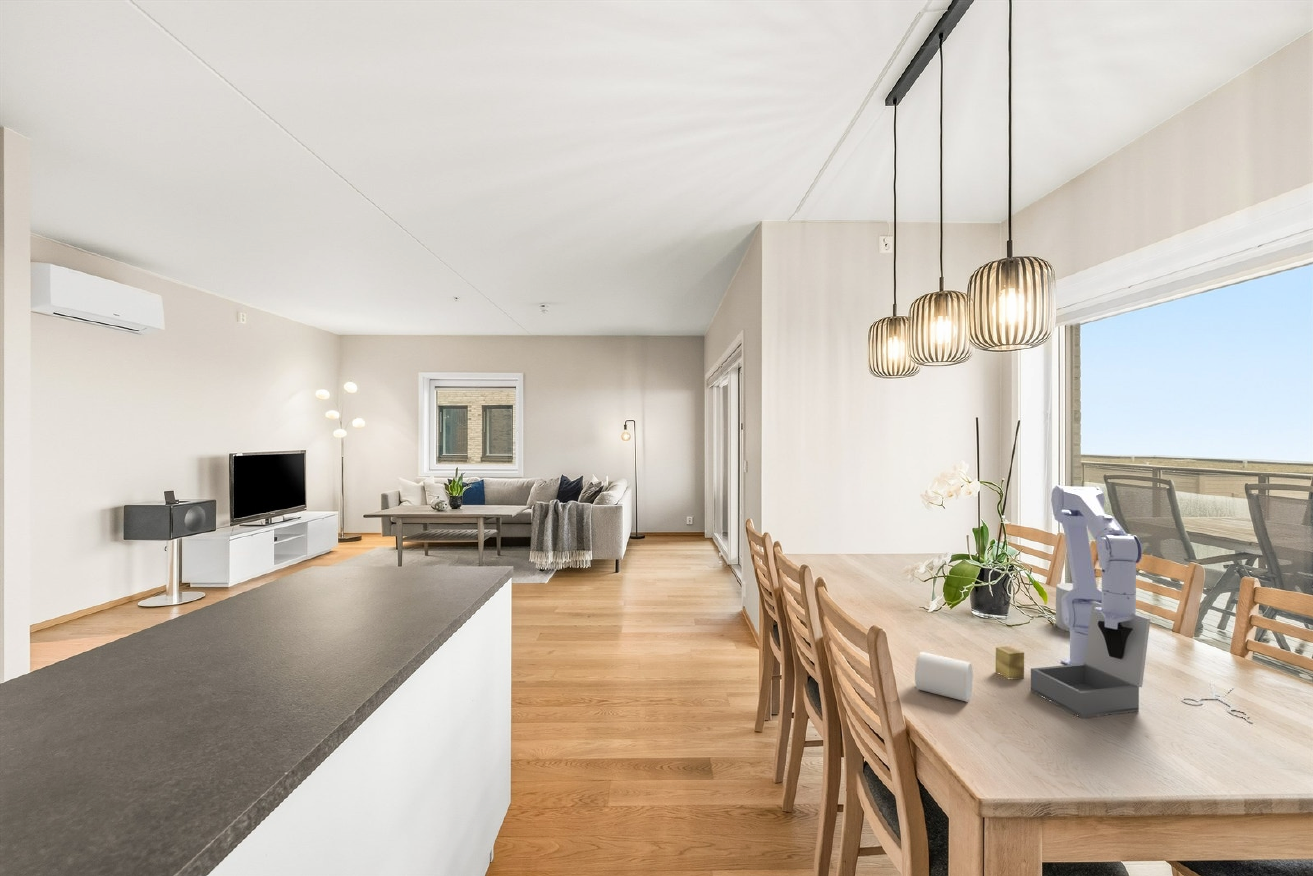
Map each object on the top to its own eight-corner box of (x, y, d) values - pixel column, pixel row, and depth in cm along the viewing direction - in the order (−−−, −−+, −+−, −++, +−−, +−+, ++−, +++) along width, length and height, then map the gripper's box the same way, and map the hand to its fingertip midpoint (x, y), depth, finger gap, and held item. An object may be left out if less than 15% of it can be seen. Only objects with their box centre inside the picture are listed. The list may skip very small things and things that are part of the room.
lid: (1084, 663, 128) (1087, 663, 128) (1138, 687, 116) (1142, 687, 116) (1092, 601, 128) (1095, 601, 128) (1147, 618, 116) (1150, 618, 116)
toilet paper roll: (1059, 631, 162) (1059, 591, 162) (1052, 619, 172) (1052, 581, 172) (1112, 638, 156) (1112, 596, 156) (1101, 625, 167) (1101, 585, 167)
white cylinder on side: (965, 708, 118) (966, 669, 118) (914, 694, 124) (914, 658, 124) (975, 687, 127) (976, 652, 127) (927, 675, 134) (927, 641, 133)
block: (1010, 671, 136) (1010, 646, 136) (1023, 678, 132) (1024, 652, 132) (995, 672, 135) (995, 647, 135) (1008, 679, 131) (1009, 653, 131)
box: (1084, 685, 128) (1084, 663, 128) (1138, 711, 116) (1138, 687, 116) (1030, 691, 125) (1030, 668, 125) (1080, 718, 113) (1081, 693, 113)
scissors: (1179, 703, 119) (1190, 674, 132) (1179, 707, 119) (1190, 678, 132) (1252, 722, 111) (1256, 690, 124) (1252, 726, 111) (1256, 693, 124)
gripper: (1103, 581, 130) (1102, 641, 130) (1086, 593, 120) (1086, 657, 120) (1143, 588, 124) (1143, 650, 125) (1129, 601, 115) (1129, 668, 115)
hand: (1118, 654), depth 122 cm, fingers open, 4 cm apart
